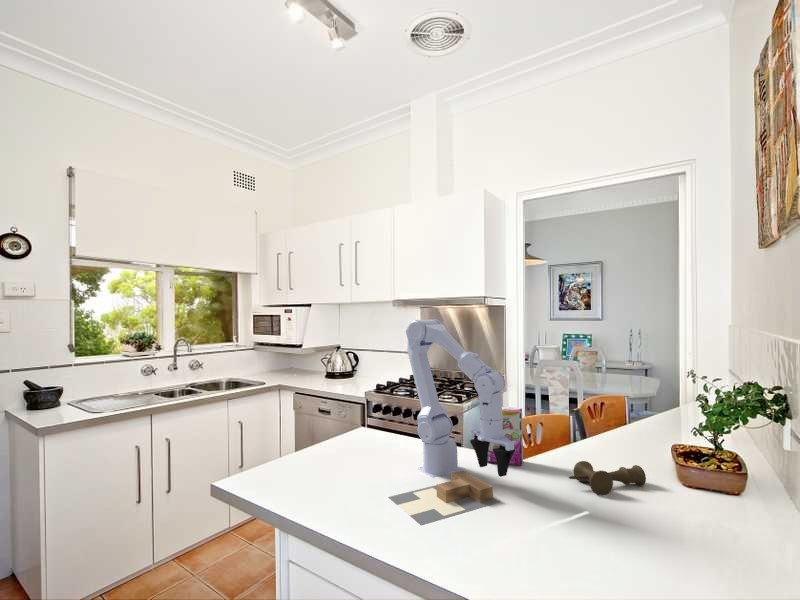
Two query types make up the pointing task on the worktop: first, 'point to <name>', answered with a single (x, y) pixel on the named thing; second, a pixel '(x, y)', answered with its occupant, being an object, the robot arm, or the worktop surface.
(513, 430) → the candy bar box
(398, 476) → the worktop surface
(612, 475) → the kendama
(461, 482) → the t block
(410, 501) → the mat
